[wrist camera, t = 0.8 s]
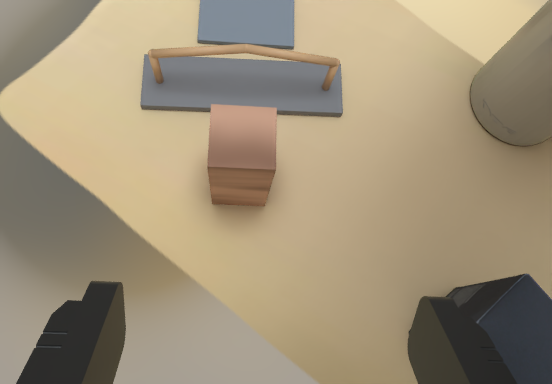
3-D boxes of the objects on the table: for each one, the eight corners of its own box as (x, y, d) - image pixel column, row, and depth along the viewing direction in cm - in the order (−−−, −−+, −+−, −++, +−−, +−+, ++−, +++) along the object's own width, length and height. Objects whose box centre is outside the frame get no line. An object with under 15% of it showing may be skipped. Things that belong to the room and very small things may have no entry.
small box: (546, 383, 40) (653, 402, 30) (494, 439, 38) (589, 479, 28) (458, 282, 42) (532, 268, 31) (404, 332, 40) (464, 334, 30)
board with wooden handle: (146, 61, 45) (131, 11, 38) (337, 70, 46) (357, 24, 39) (142, 110, 43) (126, 69, 36) (339, 118, 45) (360, 79, 38)
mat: (203, -38, 48) (203, -41, 47) (293, -30, 48) (294, -34, 48) (198, 42, 45) (197, 39, 45) (293, 49, 46) (293, 46, 46)
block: (214, 154, 42) (211, 104, 33) (265, 156, 43) (276, 107, 33) (212, 203, 41) (207, 166, 32) (264, 205, 42) (275, 169, 32)
